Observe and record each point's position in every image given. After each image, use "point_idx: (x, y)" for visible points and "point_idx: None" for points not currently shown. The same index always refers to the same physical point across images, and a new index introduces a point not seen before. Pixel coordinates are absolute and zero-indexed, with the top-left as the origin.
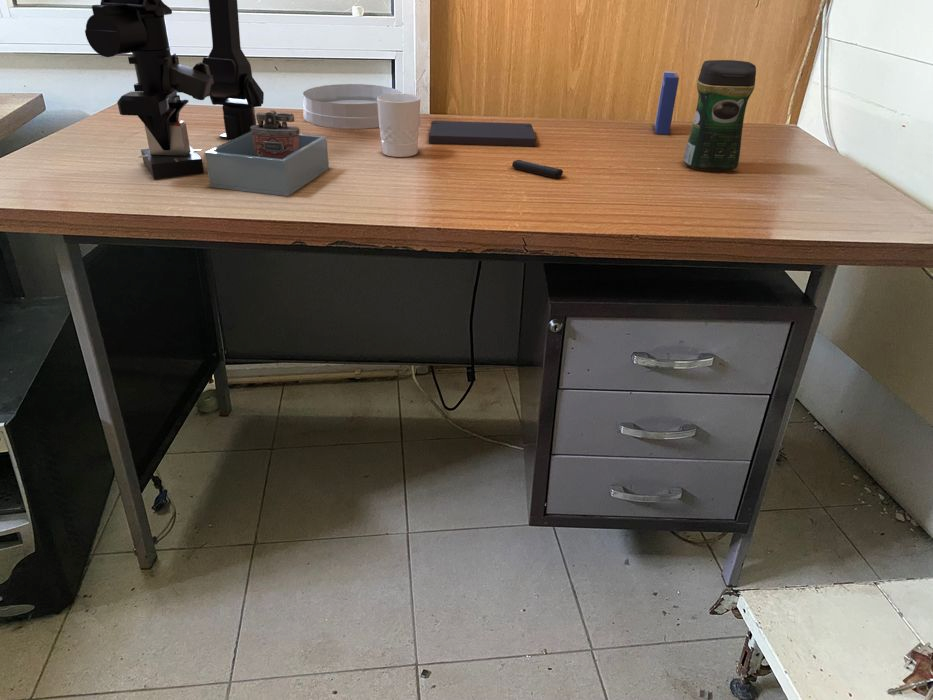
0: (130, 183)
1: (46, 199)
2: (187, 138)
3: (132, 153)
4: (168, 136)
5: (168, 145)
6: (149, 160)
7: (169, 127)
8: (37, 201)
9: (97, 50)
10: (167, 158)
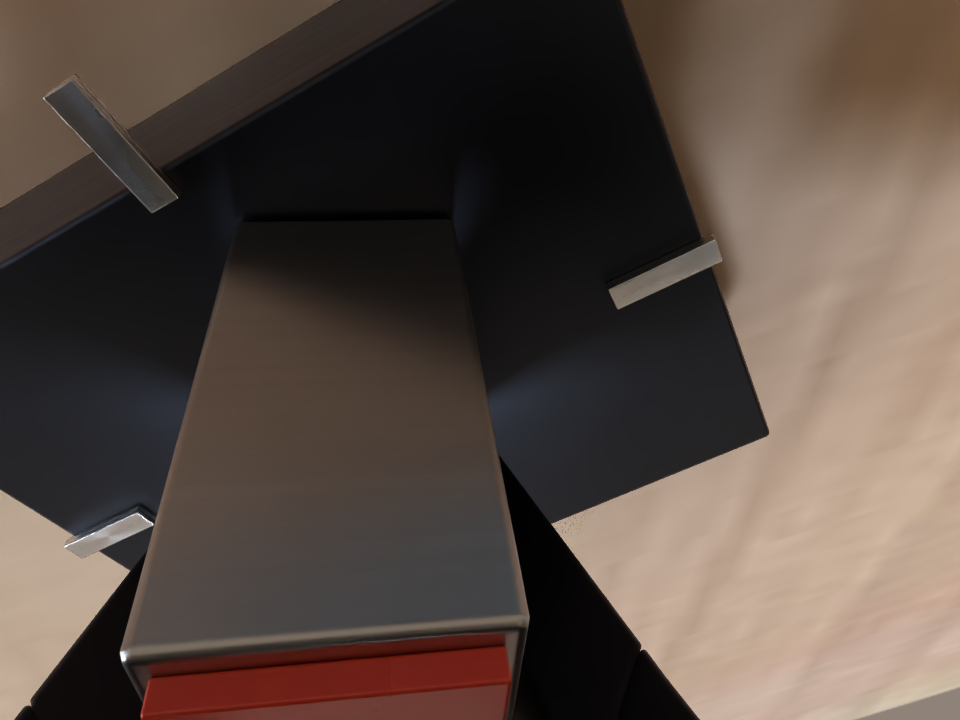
0: (768, 444)
1: (933, 633)
2: (256, 361)
3: (21, 664)
4: (569, 577)
5: (515, 481)
6: (624, 489)
7: (554, 712)
8: (949, 645)
9: None
10: (556, 381)
